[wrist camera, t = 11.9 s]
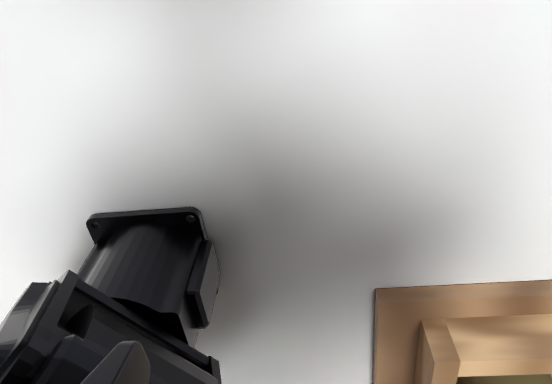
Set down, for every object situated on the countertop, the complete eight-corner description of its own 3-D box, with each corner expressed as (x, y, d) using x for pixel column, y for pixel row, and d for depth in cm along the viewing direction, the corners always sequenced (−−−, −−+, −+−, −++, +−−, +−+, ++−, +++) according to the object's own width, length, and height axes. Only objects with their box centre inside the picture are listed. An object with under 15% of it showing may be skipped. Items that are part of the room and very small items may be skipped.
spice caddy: (372, 412, 33) (381, 470, 30) (375, 288, 26) (388, 346, 22) (582, 407, 32) (618, 467, 29) (649, 275, 25) (709, 333, 21)
